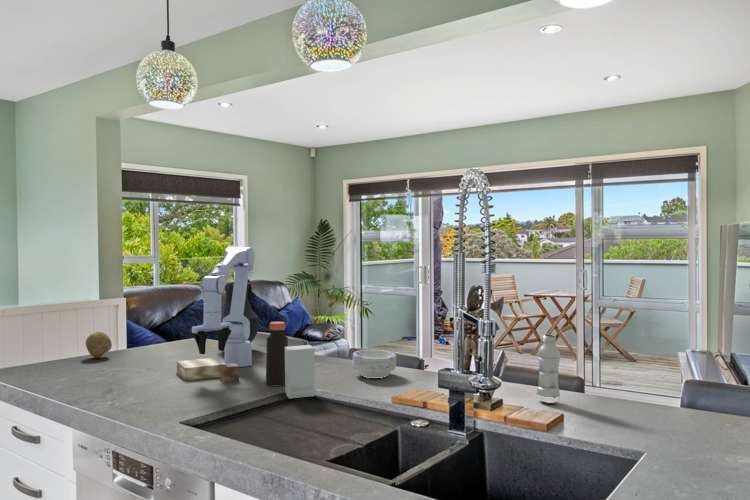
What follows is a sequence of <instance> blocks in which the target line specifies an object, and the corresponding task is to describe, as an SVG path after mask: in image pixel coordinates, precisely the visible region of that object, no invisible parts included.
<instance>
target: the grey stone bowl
mask: <svg viewBox="0 0 750 500" xmlns="http://www.w3.org/2000/svg"><path fill="white" fill-rule="evenodd" d="M396 367H397V354H396V353H394V352H391V351H388V350H383V349H361V350H356V351H354V352H353V353H352V368H353V369H354V370H357V373H358V375H359V374H360V375H362V376H367V377H384V376H387V375H390V374H391V372H392V371H395V370H396V369H397V368H396ZM360 375H359V376H360ZM362 376H361V377H362ZM387 377H388V376H387Z"/></svg>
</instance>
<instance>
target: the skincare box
mask: <svg viewBox="0 0 750 500" xmlns="http://www.w3.org/2000/svg"><path fill="white" fill-rule="evenodd" d="M315 353H316V352H315V348H314V347H313V346H312V344H302V345H289V346H288V347H285V385H284V386H285V387H284V393H286V394H285V395H286V397H287V398H288V399H289V400H290V399H298V398H306V397H308V398H310V397H315V396H316V394H315V393H316V390H315V389H316V386H315V377H316V376H315V359H316V358H315Z"/></svg>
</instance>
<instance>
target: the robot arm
mask: <svg viewBox="0 0 750 500" xmlns="http://www.w3.org/2000/svg"><path fill="white" fill-rule="evenodd" d="M255 256H256V255H255V251H254V248H253V247H252V246H248V247H247V246H246V247H245V246H229V245H228V246H227V247H226V248H225V249H224V259H223V261H222V262H221V263H218V264H217V265H216V266H215V267H213V269H212V270H211V272H210V273H209V274H208V275H205V276H203V277H202V279H201V282H200V290H201V297H202V299H203V321H202V324H200V325H196V326H191V334H192V337H193V338H194V340H195V342H196V345H197V348H198V353H199V354H200V355H206V347H207V346H206V343H207V338H208V335H209V334H208V333H206V332H212V331H216V336H217V342H218V344H217V345H218V346H217V347H218V351H219V352H220V351H221V352H224V361H223V362H220V364H230V363H235V364H237V365H238V366H239V368H240V367H241V368H242V367H252V366H253V364H252V363H253V362H252V360H253V359H252V357H253V356H252V353H253V352H252V342H251V343H250V341H246V340H247V339H248V338H249V335H250V322H249V320H248V319H247V318H246V317H245V316H244V315H243V313H244V305H245V297H246V290H247V282H248V279H249V275H250V272H251V271H253V270H254V265H255ZM232 271H233V272H234V281H233V282H234V287H233V294H232V302H231V309H230V314H229V315H228V316H227V317H225V318H224V319H223V321H222V323H221V312H222V293H224V291H225V285H226V283H227V282H226V281H227V280H228V279H229V277H230V276H231V275H232ZM233 323H243V324H233Z"/></svg>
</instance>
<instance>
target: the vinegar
mask: <svg viewBox="0 0 750 500" xmlns="http://www.w3.org/2000/svg"><path fill="white" fill-rule="evenodd" d="M285 331H286V322H284V321H271V322H270V323H269V332H270V334H269V335H268V336H267V337H266V351H265V352H266V354H265V355H266V357H265V358H266V359H265V361H266V365H265V367H266V368H265V369H266V371H265V372H266V373H265V384H266V385H267V384H268V385H267V386H269V385H283V384H285V347H289V346H288V345H289V338H288V336H287V335H286V334H285ZM283 386H284V385H283Z"/></svg>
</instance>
